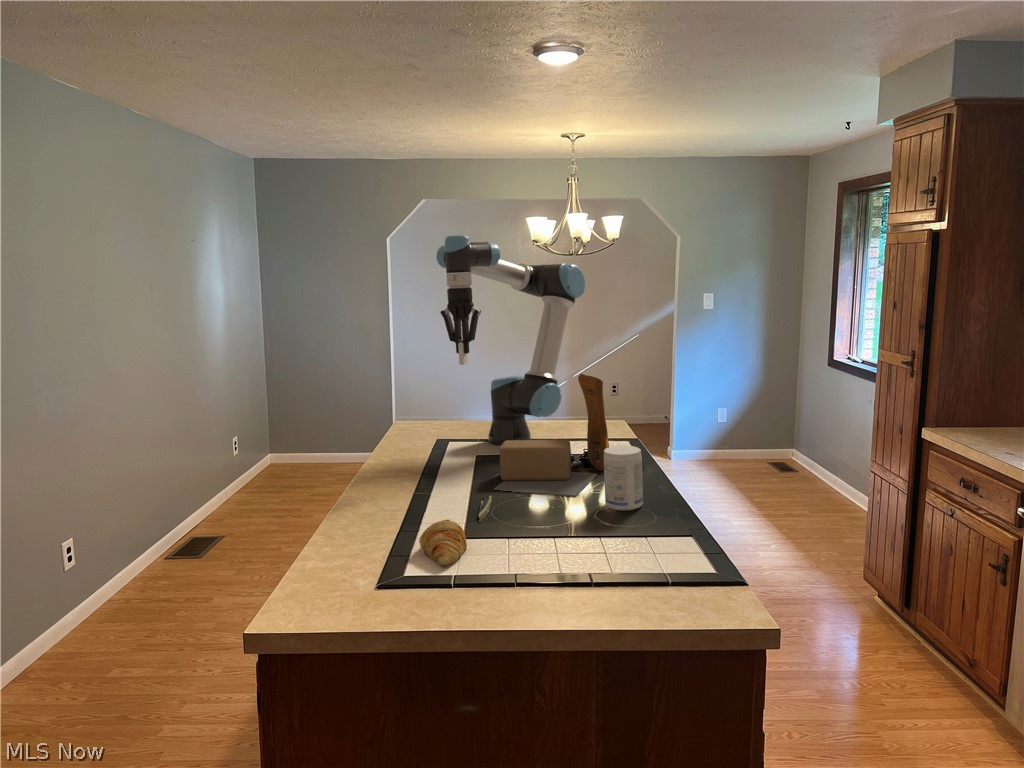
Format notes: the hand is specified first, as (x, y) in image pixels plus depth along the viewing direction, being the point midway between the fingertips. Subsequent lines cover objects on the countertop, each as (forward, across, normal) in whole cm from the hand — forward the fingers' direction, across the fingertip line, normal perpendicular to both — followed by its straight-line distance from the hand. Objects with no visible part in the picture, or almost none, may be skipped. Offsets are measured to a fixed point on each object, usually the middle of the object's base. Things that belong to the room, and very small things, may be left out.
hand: (463, 364), depth 232 cm
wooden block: (+27, +16, -10) cm, 33 cm away
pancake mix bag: (+33, +39, +10) cm, 52 cm away
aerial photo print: (+33, +29, -37) cm, 58 cm away
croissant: (+33, +25, -68) cm, 79 cm away
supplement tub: (+33, +56, -27) cm, 70 cm away
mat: (+32, +30, -12) cm, 46 cm away
